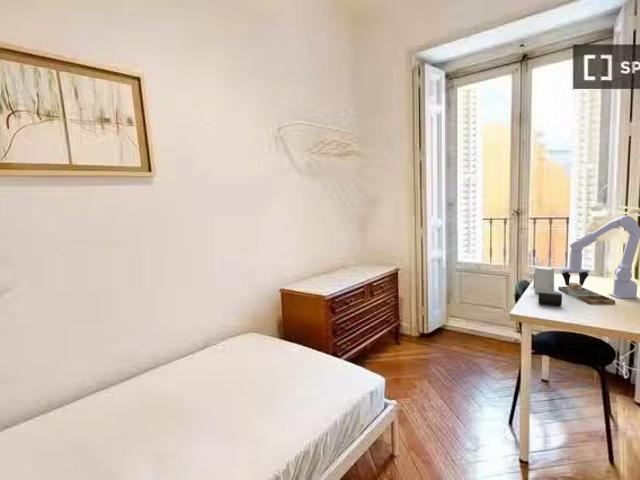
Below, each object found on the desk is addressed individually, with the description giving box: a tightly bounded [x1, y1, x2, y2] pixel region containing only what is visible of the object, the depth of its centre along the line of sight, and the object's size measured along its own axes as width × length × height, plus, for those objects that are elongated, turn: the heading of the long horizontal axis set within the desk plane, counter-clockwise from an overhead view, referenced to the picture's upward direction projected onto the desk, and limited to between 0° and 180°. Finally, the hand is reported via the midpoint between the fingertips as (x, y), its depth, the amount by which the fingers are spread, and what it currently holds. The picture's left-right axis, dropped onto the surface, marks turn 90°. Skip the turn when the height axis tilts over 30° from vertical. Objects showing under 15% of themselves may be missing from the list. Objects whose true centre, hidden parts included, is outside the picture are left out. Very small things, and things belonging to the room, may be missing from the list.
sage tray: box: [567, 290, 603, 300], centre depth 201 cm, size 12×9×2 cm
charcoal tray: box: [558, 286, 591, 295], centre depth 211 cm, size 12×9×2 cm
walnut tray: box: [578, 295, 616, 305], centre depth 191 cm, size 12×9×2 cm
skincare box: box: [534, 266, 555, 294], centre depth 209 cm, size 8×6×15 cm
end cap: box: [538, 291, 563, 307], centre depth 188 cm, size 10×7×7 cm
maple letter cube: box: [566, 282, 583, 290], centre depth 211 cm, size 5×5×5 cm
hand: (574, 285), depth 211 cm, fingers open, 7 cm apart
